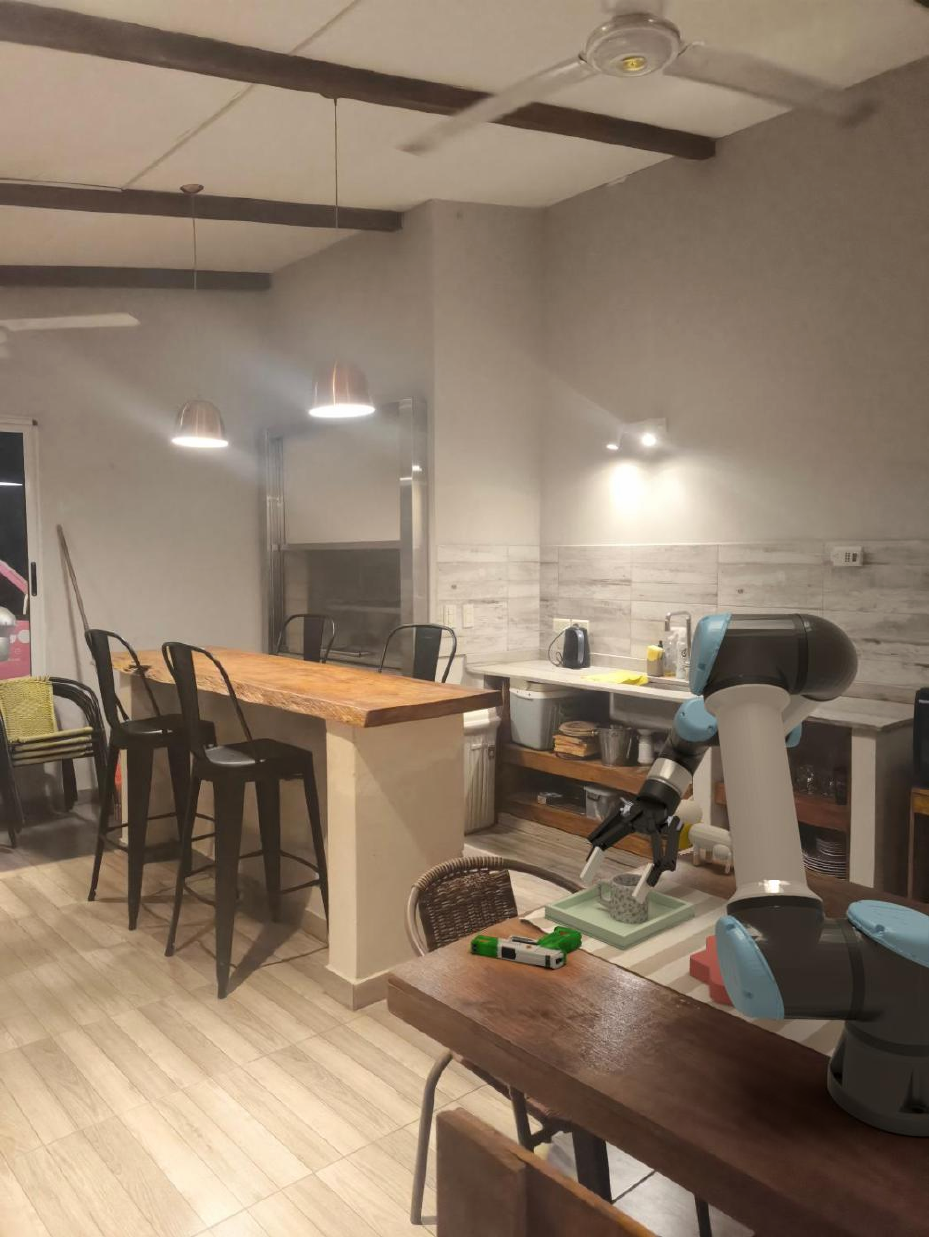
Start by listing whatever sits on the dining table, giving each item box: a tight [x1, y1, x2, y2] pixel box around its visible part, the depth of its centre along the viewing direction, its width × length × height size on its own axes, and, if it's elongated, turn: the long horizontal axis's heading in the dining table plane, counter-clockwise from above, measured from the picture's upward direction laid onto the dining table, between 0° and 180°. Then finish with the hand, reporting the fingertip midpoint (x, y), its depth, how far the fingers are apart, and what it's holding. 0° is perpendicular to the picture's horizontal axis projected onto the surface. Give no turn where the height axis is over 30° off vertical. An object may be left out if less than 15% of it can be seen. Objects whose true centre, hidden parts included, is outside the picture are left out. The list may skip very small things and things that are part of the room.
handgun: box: [470, 925, 583, 970], centre depth 157 cm, size 3×16×12 cm
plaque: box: [689, 934, 734, 1006], centre depth 146 cm, size 18×4×15 cm
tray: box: [544, 884, 695, 951], centre depth 169 cm, size 20×18×2 cm
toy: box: [671, 794, 733, 875], centre depth 193 cm, size 9×19×15 cm, turn 40°
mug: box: [595, 872, 649, 924], centre depth 169 cm, size 10×7×7 cm, turn 55°
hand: (609, 890), depth 167 cm, fingers open, 11 cm apart
